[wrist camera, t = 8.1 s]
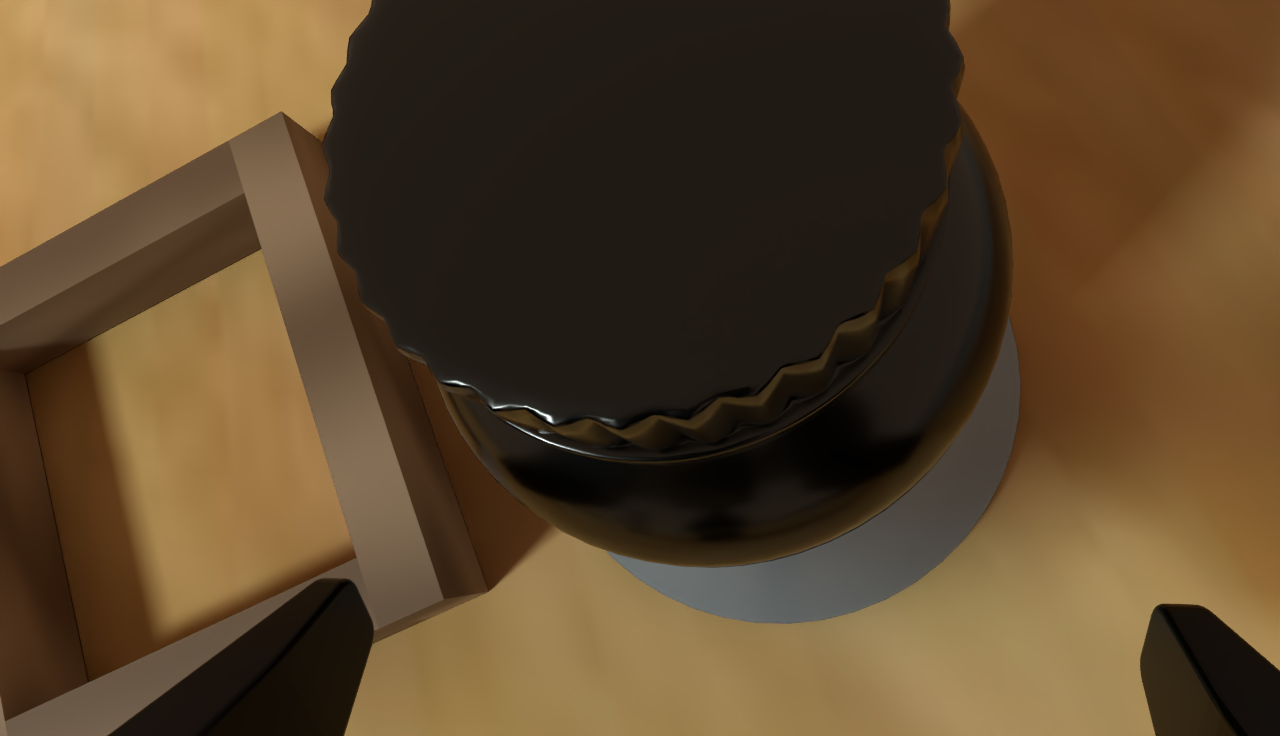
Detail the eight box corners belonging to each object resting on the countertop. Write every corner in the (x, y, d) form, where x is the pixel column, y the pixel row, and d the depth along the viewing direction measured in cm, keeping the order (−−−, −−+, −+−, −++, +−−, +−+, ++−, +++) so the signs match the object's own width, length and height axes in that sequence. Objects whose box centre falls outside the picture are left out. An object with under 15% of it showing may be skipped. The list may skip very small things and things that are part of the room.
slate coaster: (1113, 299, 16) (1120, 294, 16) (848, 726, 16) (848, 730, 16) (699, 94, 19) (696, 86, 19) (467, 451, 19) (459, 449, 19)
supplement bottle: (958, 530, 16) (1286, 524, 4) (620, 570, 17) (200, 643, 6) (893, 205, 17) (1013, -426, 6) (586, 265, 19) (201, -157, 7)
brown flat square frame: (488, 591, 18) (443, 599, 16) (54, 786, 20) (-39, 816, 18) (335, 152, 21) (281, 111, 19) (-29, 349, 23) (-116, 330, 21)
